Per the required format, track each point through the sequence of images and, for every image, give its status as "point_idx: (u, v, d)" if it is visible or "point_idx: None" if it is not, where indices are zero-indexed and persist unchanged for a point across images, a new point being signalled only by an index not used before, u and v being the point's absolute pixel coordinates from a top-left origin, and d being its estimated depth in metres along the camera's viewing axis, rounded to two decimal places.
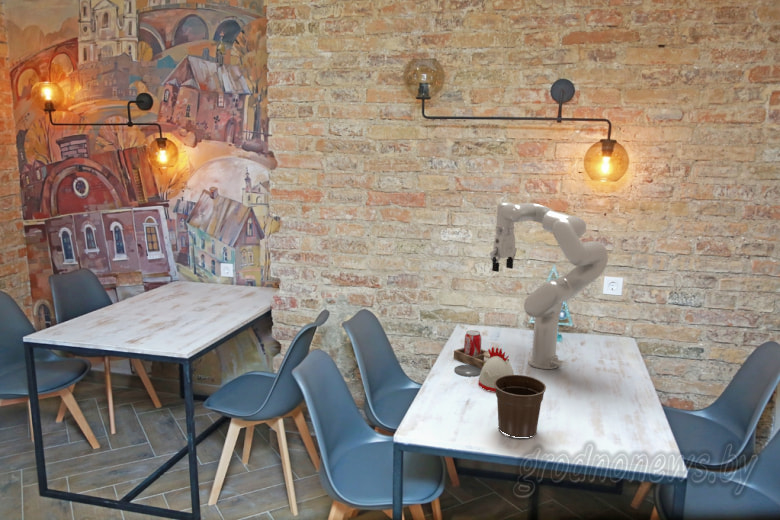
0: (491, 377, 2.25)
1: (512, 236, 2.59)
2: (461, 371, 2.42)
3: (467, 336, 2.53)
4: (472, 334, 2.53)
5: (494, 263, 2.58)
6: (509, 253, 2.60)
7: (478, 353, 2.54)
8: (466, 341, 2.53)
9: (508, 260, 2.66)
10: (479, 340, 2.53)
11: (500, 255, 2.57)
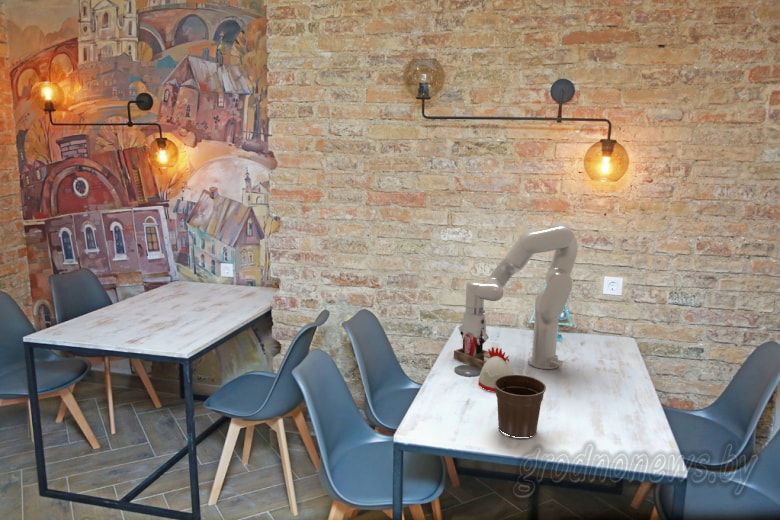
0: (491, 377, 2.25)
1: None
2: (461, 371, 2.42)
3: (467, 336, 2.53)
4: None
5: (481, 345, 2.52)
6: None
7: (478, 353, 2.53)
8: (466, 341, 2.53)
9: None
10: None
11: None
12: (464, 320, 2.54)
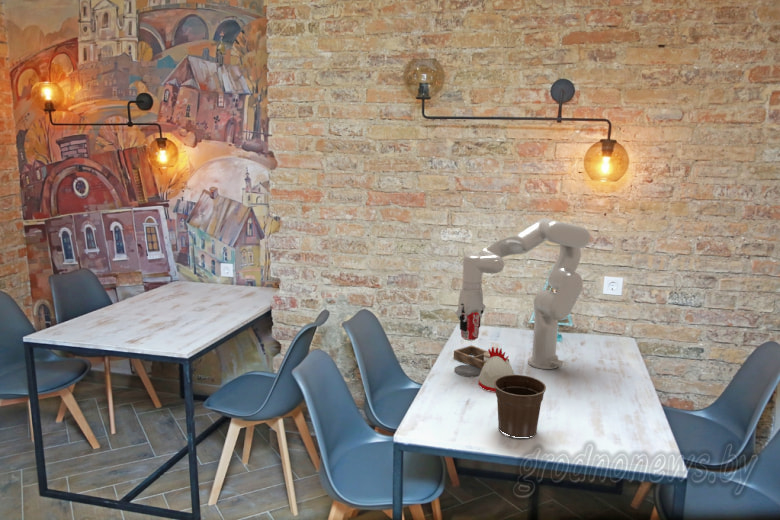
0: (491, 377, 2.25)
1: None
2: (461, 371, 2.42)
3: (475, 314, 2.36)
4: None
5: None
6: None
7: None
8: (476, 320, 2.36)
9: None
10: None
11: None
12: (470, 300, 2.34)
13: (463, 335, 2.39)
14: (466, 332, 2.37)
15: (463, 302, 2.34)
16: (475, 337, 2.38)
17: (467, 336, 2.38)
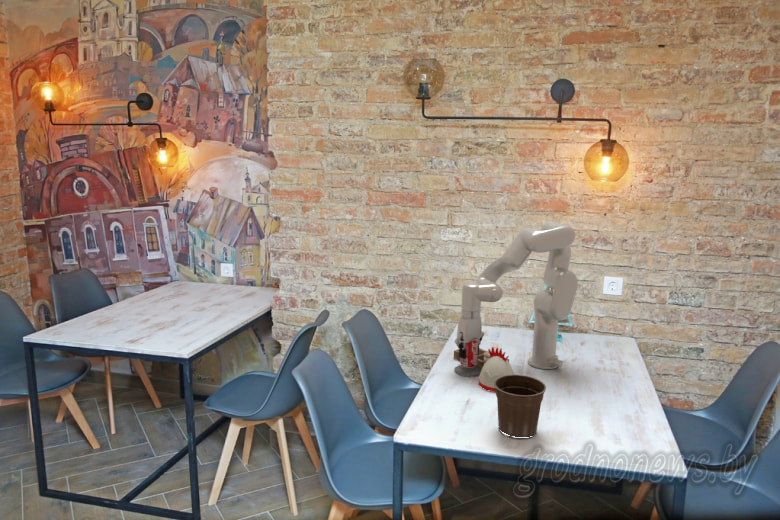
0: (491, 377, 2.25)
1: None
2: (461, 371, 2.42)
3: (474, 342, 2.39)
4: None
5: None
6: None
7: None
8: (474, 348, 2.39)
9: None
10: None
11: None
12: (468, 328, 2.36)
13: (462, 362, 2.41)
14: (465, 360, 2.40)
15: (462, 330, 2.37)
16: (474, 364, 2.41)
17: (466, 364, 2.40)
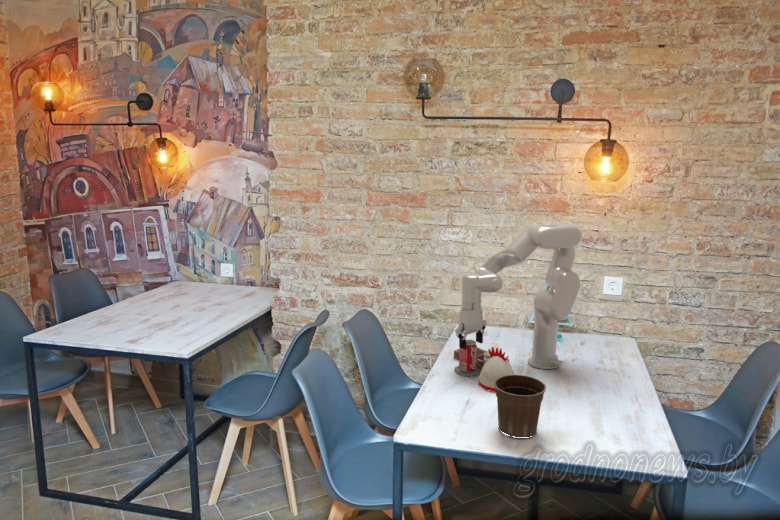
0: (491, 377, 2.25)
1: None
2: (461, 371, 2.42)
3: (473, 347, 2.39)
4: (473, 343, 2.41)
5: None
6: None
7: None
8: (473, 352, 2.39)
9: None
10: None
11: None
12: (470, 319, 2.36)
13: (461, 367, 2.41)
14: (464, 364, 2.40)
15: (463, 322, 2.36)
16: (473, 369, 2.41)
17: (465, 368, 2.40)
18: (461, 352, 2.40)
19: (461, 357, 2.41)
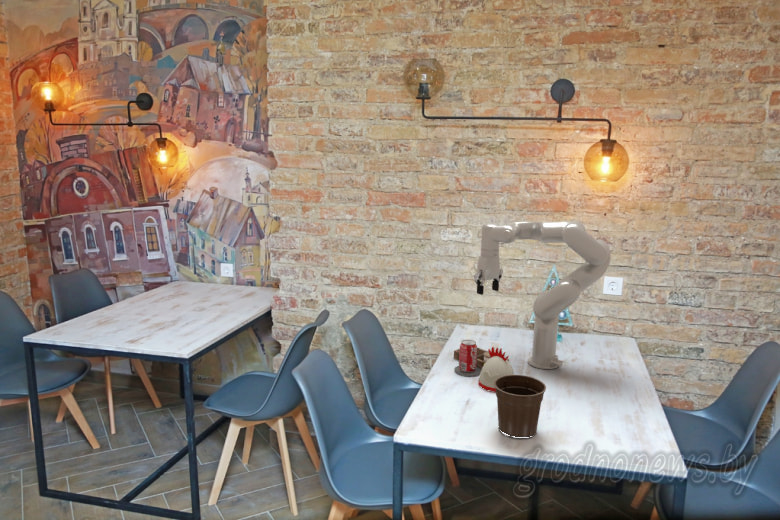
0: (491, 377, 2.25)
1: None
2: (461, 371, 2.42)
3: (473, 347, 2.39)
4: (473, 343, 2.41)
5: None
6: None
7: None
8: (473, 352, 2.39)
9: None
10: None
11: None
12: (488, 266, 2.50)
13: (461, 367, 2.41)
14: (464, 364, 2.40)
15: (481, 268, 2.50)
16: (473, 369, 2.41)
17: (465, 368, 2.40)
18: (461, 352, 2.40)
19: (461, 357, 2.41)
